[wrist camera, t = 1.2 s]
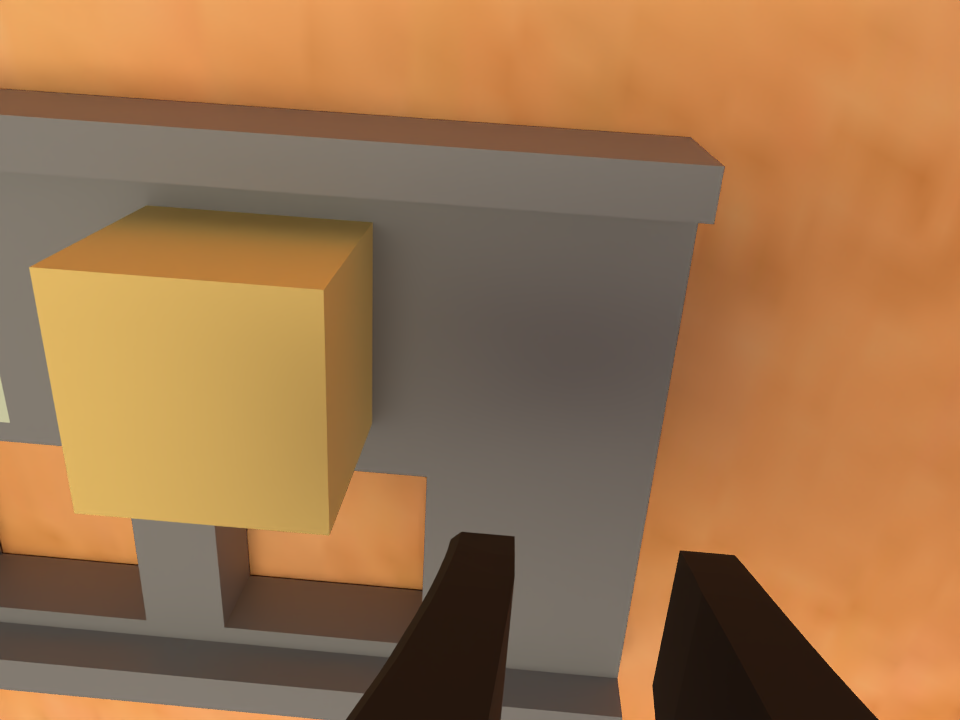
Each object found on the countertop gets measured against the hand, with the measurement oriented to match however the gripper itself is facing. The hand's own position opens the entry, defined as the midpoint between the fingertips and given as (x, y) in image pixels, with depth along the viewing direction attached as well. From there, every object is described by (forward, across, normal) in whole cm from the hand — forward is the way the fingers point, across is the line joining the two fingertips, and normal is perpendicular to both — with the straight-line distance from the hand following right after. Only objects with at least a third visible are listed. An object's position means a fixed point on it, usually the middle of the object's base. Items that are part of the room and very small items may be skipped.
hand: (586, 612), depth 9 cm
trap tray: (+10, +8, +3) cm, 13 cm away
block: (+8, +6, 0) cm, 10 cm away
